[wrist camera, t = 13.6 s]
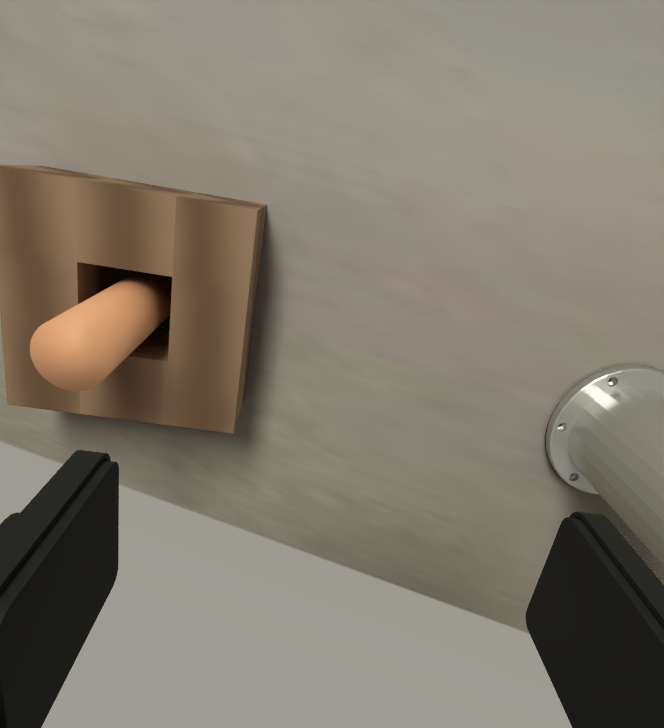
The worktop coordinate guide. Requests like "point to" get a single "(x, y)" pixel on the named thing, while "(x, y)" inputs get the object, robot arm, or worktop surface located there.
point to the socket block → (95, 273)
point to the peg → (100, 331)
